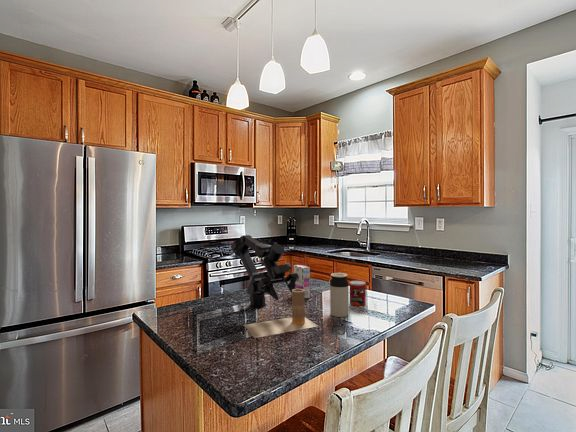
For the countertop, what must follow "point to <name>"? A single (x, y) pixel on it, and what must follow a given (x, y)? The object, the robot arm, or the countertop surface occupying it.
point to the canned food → (358, 293)
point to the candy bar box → (303, 279)
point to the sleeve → (298, 306)
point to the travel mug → (339, 295)
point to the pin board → (277, 327)
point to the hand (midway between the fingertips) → (286, 297)
